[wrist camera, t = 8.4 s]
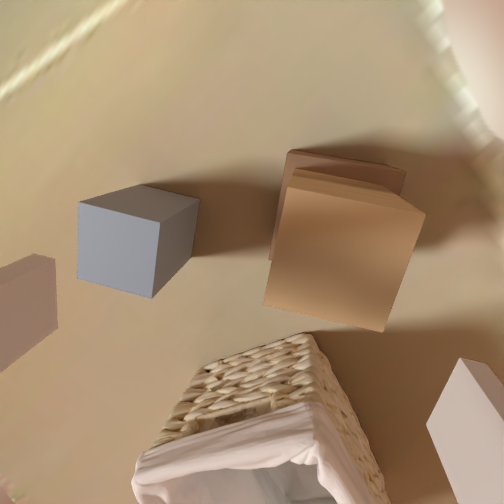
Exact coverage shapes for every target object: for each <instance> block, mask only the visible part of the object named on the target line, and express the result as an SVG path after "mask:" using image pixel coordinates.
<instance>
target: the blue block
mask: <svg viewBox="0 0 504 504" xmlns="http://www.w3.org/2000/svg"><path fill="white" fill-rule="evenodd" d="M199 204H200V199H197V198H193V197H189V196H185V195H181V194H177V193H173V192H169V191H165V190H161V189H157V188H153V187H148V186H144V185H140V184H139V185H136V186H132V187H129V188H125V189H122V190H118V191H115V192H111V193H108V194H104V195H101V196H98V197H94V198H91V199H87V200H84V201H80V202H78V250H77V279H81V280H85V281H88V282H92V283H96V284H99V285H103V286H107V287H110V288H114V289H118V290H121V291H125V292H128V293H132V294H136V295H139V296H143V297H147V298H150V299H152V298H153V297H154V296H155V295H156V294H157V293H158V292H159V291H160V289H161V288H162V287H163V286H164V285H165V284H166V283H167V282H168V281H169V280H170V279H171V278H172V277H173V276H174V275H175V274H176V273H177V272H178V271H179V270H180V269H181V268H182V266H183V265H184V264H185V263H186V262H187V261H188V260H189V259H190V258H191V255H192V249H193V242H194V236H195V229H196V223H197V217H198V210H199Z"/></svg>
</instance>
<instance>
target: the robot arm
mask: <svg viewBox="0 0 504 504" xmlns="http://www.w3.org/2000/svg"><path fill="white" fill-rule="evenodd" d="M57 328H58V322H57V295H56V268H55V259H54V258H49V257H45V256H41V255H37V254H32V255H30V256H28V257H25V258H23V259H21V260H19V261H16V262H14V263H12V264H9V265H7V266H5V267H2V268H0V373H1V372H2V371H3V370H4V369H6V368H7V367H8V366H10V365H11V364H12V363H13V362H15V361H16V360H17V359H19V358H20V357H21V356H22V355H24V354H25V353H26V352H28V351H29V350H30V349H31V348H33V347H34V346H35V345H37V344H38V343H39V342H41V341H42V340H43V339H44V338H46V337H47V336H48V335H50V334H51V333H52V332H53V331H55V330H56V329H57ZM426 426H427V428H428V431H429V433H430V436H431V438H432V441H433V443H434V445H435V448H436V450H437V453H438V455H439V458H440V460H441V463H442V465H443V467H444V470H445V472H446V475H447V477H448V480H449V482H450V485H451V487H452V489H453V492H454V494H455V497H456V499H457V502H458V504H504V386H503V384H502V383H501V382H500V381H499V379H498V378H497V377H496V375H495V374H494V373H493V372H492V370H491V369H490V368H489V367H488V365H487V364H486V363H482V362H478V361H473V360H469V359H465V358H461V357H460V358H459V360H458V362H457V364H456V366H455V368H454V370H453V372H452V374H451V376H450V378H449V380H448V382H447V384H446V386H445V388H444V390H443V392H442V394H441V396H440V398H439V400H438V402H437V404H436V406H435V408H434V410H433V412H432V414H431V415H430V417H429V419H428V421H427V423H426Z"/></svg>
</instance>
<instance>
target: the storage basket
mask: <svg viewBox="0 0 504 504" xmlns="http://www.w3.org/2000/svg"><path fill="white" fill-rule="evenodd" d="M207 370H209V371H210V372H207ZM135 468H136V469H135V474H134V476H133V478H132V481H131V484H132V488H133V491H134V494H135V496H136V499H137V500H138V502H139V504H391V501H390V499H389V496H388V494H387V492H386V486H385V483H384V477H383V475H382V473H381V471H380V469H379V467H378V465H377V463H376V460H375V457H374V455H373V453H372V452H371V450H370V445H369V442H368V439H367V437H366V435H365V433H364V431H363V430H362V428H361V426H360V423H359V420H358V418H357V416H356V414H355V412H354V410H353V409H352V407H351V404H350V401H349V399H348V397H347V396H346V394H345V392H344V391H343V389H342V388H341V387H340V385H339V382H338V380H337V378H336V377H335V375H334V374H333V372H332V370H331V365H330V362H329V360H328V358H327V357H326V356H325V355H324V354H323V353H322V352H321V351H320V350H319V348H318V346H317V343H316V341H315V339H314V337H313V336H312V335H311V334H305V333H301V334H297V335H294V336H291V337H288V338H286V339H284V340H280V341H276V342H273V343H270V344H268V345H266V346H263V347H257V348H254V349H251V350H249V351H246V352H244V353H241V354H237V355H233V356H231V357H229V358H226V359H224V360H218V361H215V362H213V363H211V364H209V365H207V366H205V367H202V368H201V369H199V370H197V372H196V373H195V376H194V377H193V378H192V380H191V381H190V383H189V384H188V389H186V391H185V392H183V393H182V395H181V397H180V399H179V402H178V403H177V405H176V406H174V407H173V409H172V410H171V412H170V414H169V418H168V420H167V421H166V423H165V425H164V426H163V430H162V431H161V432H160V433H159V435H158V437H157V439H156V442H155V443H154V444H153V445H152V447H151V448H150V449H149V450H148V451H146V452H143V453H142V454H140V456H139V458H138V460H137V462H136V467H135Z"/></svg>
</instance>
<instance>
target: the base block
mask: <svg viewBox="0 0 504 504" xmlns="http://www.w3.org/2000/svg"><path fill="white" fill-rule="evenodd" d="M295 168H296V169H302V170H307V171H312V172H317V173H322V174H327V175H332V176H338V177H343V178H348V179H353V180H358V181H363V182H369V183H374V184H379V185H382V186H384V187H385V188H387V189H388V190H390V191H392V192H393V193H395V194H396V195H398V196H399V195H400V192H401V188H402V185H403V182H404V178H405V175H406V172H405V171H402V170H399V169H396V168H394V167H391V166H388V165H384V164H377V163H371V162H365V161H359V160H352V159H346V158H340V157H334V156H327V155H321V154H315V153H309V152H302V151H296V150H290V151H289V152H288V153H287V157H286V163H285V169H284V174H283V180H282V186H281V191H280V197H279V203H278V208H277V214H276V220H275V226H274V231H273V237H272V243H271V248H270V254H269V260H272V258H273V253H274V249H275V244H276V239H277V234H278V230H279V225H280V220H281V215H282V210H283V206H284V201H285V196H286V191H287V187H288V184H289V182H290V179H291V177H292V174H293V171H294V169H295Z"/></svg>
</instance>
